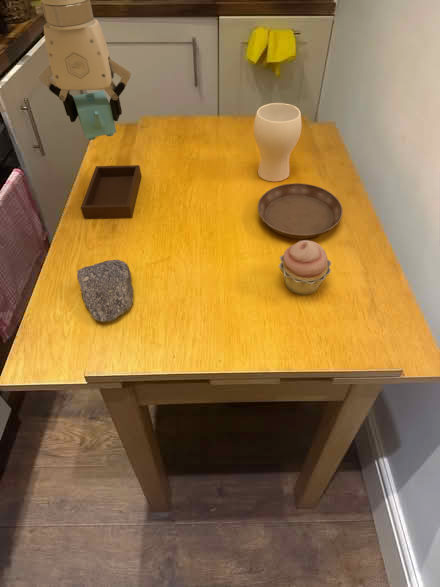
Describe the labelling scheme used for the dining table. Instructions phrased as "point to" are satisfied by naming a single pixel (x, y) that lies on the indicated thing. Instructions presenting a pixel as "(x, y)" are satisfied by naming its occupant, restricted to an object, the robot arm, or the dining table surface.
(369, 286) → the dining table surface
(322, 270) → the cupcake
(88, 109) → the teapot
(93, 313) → the rock
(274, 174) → the cup
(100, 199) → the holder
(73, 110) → the robot arm
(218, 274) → the dining table surface
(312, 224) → the plant saucer
